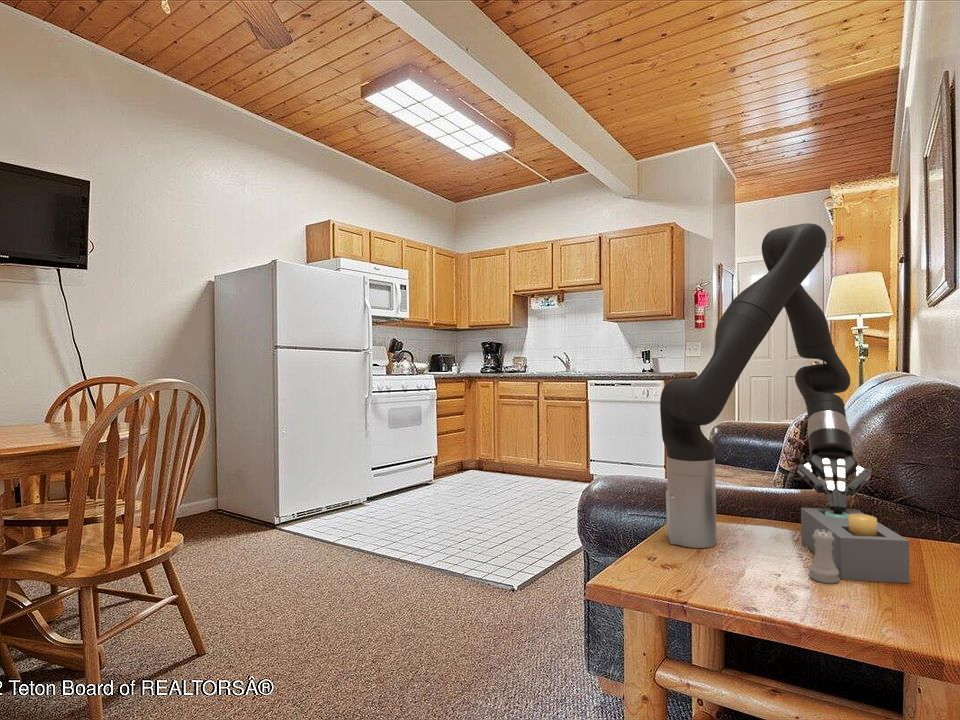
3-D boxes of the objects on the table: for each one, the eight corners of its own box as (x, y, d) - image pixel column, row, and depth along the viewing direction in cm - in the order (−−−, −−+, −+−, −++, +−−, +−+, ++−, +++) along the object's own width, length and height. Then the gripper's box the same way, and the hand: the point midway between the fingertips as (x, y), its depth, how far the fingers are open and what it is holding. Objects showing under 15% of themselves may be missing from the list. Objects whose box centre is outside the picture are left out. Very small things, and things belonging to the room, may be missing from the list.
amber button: (855, 540, 92) (855, 520, 92) (844, 532, 96) (844, 513, 96) (882, 541, 91) (881, 521, 91) (870, 533, 95) (869, 514, 95)
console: (841, 579, 91) (840, 538, 91) (801, 542, 108) (800, 507, 108) (909, 583, 89) (908, 540, 89) (857, 544, 106) (856, 509, 106)
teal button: (830, 534, 102) (830, 516, 102) (821, 528, 106) (821, 510, 106) (854, 535, 101) (854, 517, 101) (844, 529, 105) (844, 511, 105)
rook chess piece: (846, 584, 89) (845, 535, 89) (819, 584, 89) (818, 536, 89) (828, 573, 94) (827, 527, 94) (802, 573, 94) (802, 527, 93)
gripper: (793, 425, 114) (798, 497, 104) (869, 427, 109) (883, 504, 98) (792, 446, 119) (797, 517, 108) (865, 449, 113) (878, 525, 102)
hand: (838, 511), depth 103 cm, fingers closed
